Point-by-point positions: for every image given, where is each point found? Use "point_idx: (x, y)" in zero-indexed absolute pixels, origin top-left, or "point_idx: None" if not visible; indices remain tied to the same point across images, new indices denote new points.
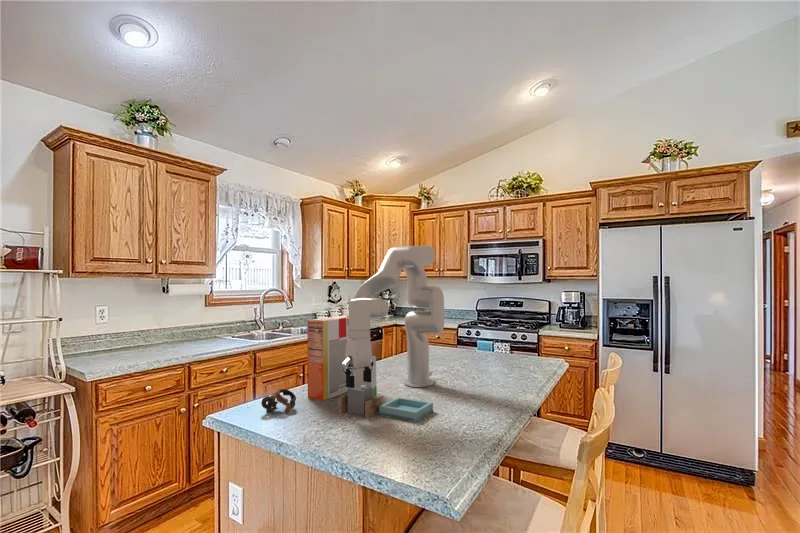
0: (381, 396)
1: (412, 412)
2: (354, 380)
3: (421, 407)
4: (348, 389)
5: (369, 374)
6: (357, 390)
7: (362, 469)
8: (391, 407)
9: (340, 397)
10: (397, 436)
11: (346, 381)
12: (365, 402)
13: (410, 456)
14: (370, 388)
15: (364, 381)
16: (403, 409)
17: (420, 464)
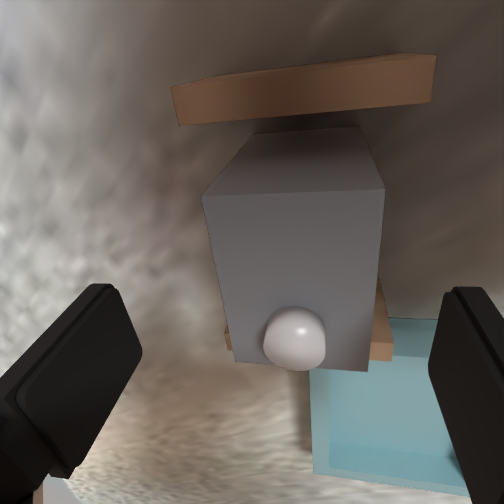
0: (391, 360)
1: (313, 463)
2: (108, 415)
3: (387, 478)
4: (207, 204)
5: (461, 463)
6: (226, 306)
7: None
8: (320, 398)
9: (176, 112)
10: (181, 424)
11: (56, 329)
12: (226, 333)
13: (124, 462)
14: (338, 367)
15: (448, 299)
16: (323, 438)
17: (116, 477)
